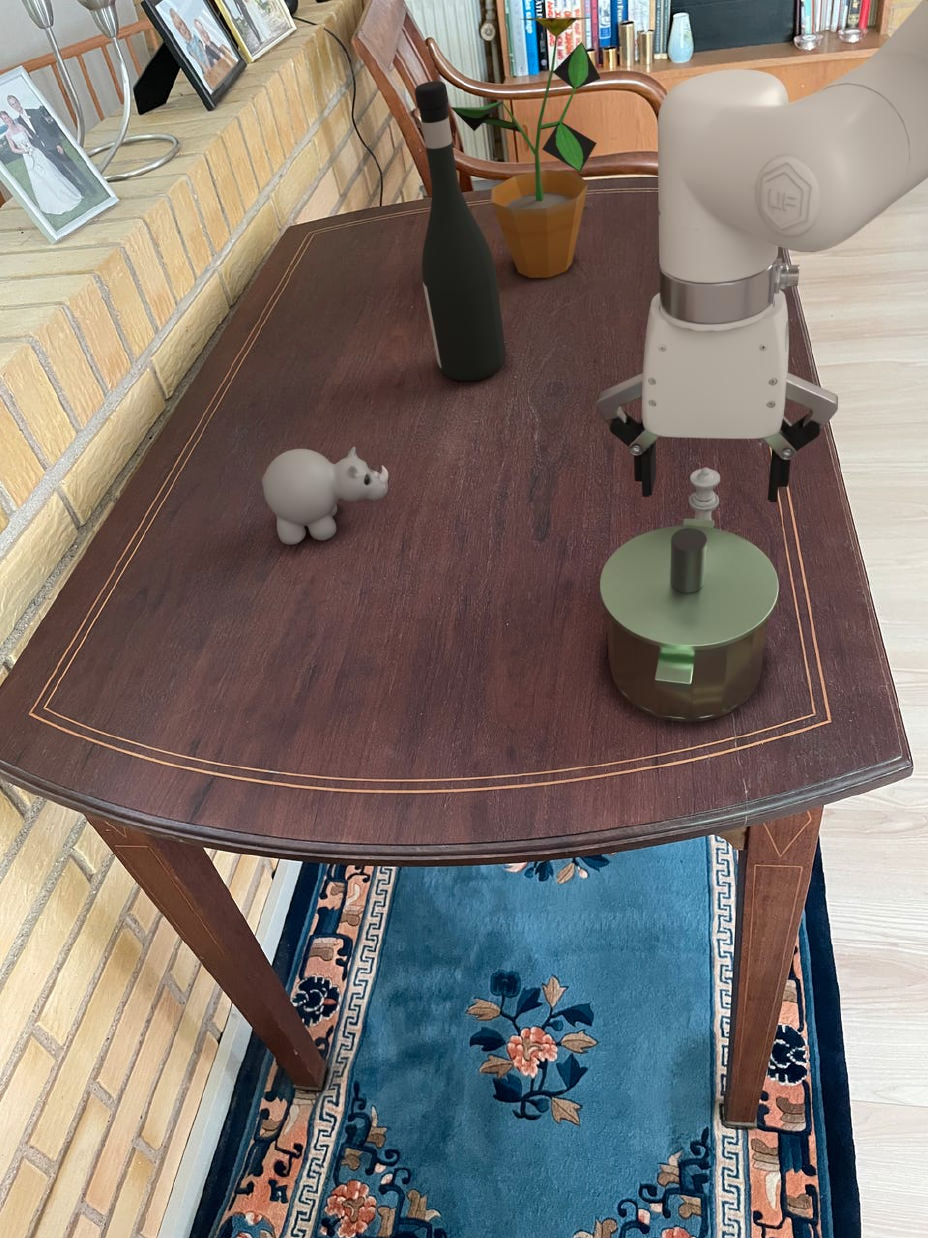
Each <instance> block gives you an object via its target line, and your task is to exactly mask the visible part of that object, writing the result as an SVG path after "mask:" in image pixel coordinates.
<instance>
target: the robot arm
mask: <svg viewBox="0 0 928 1238" xmlns="http://www.w3.org/2000/svg"><path fill="white" fill-rule="evenodd" d="M927 179H928V0H921V1H920V2H919V3H918V4H917V6H916V7H915V8H914V9H913V10H912V11H911V13H910V14H909V15H908V16H907V17H906V18H905V20H904V21H903V22H902V23H901V24H900V25H899V26H898V27H897V29H895V30H894V32H893V33H892V34H891V35H890V36H889V37H888V38H887V39H886V41H885V42H884V43H883V44H882V45H881V46H880V47H879V48H878V49H877V50H876V51H875V52H874V53H873V54H872V55H871V56H870V57H869V58H868V59H867V60H865V62H863V63H862V64H860V65H858V66H856V67H855V68H853V69H851V70H849V71H847V72H846V73H845V74H843V75H842V76H840V77H838V78H837V79H835V80H833V81H832V82H830V83H829V84H827V85H825V86H824V87H821V89H818V90H817V91H816V92H814V93H811V94H809V95H806V96H803V97H801V98H799V99H796V100H793V101H791V102H790V101H789V94H788V91H787V89H786V86H784V84H783V82H782V81H781V80H780V79H779V78H777V77H776V76H775V75H773V74H771V73H769V72H766V71H761V70H756V69H745V68H738V69H737V68H736V69H735V68H734V69H733V68H732V69H723V70H716V71H710V72H705V73H702V74H699V75H696V76H693V77H691V78H688V79H686V80H683V81H682V82H679V83H677V84H676V85H675V86H674V87H672V88H671V89H670V90H669V91H668V92H667V93H666V95H665V96H664V98H663V99H662V102H661V104H660V108H659V112H658V116H657V182H658V183H657V185H658V191H657V193H658V256H659V257H658V263H659V264H658V265H659V271H658V273H659V292H658V293H656V294H655V295H654V296H653V298H652V299H651V302H650V306H649V311H648V315H647V324H646V331H645V341H644V349H643V362H642V363H643V364H642V373H640V374H638V375H635V376H633V377H631V378H629V379H627V380H624V381H621V382H620V383H618V384H616V385H613V386H611V387H609V388H606V389H604V390H603V391H601V392H599V393H598V394H597V395H598V396H597V399H596V402H595V408H596V409H597V411H598V413H599V414H600V416H601V417H602V419H603V420H604V422H605V423H607V425H608V426H609V427H608V428H609V432H610V433H611V434H612V435H613V436H615V437H616V438H617V439H618V440H620V442H622V443H624V444H625V445H626V446H627V447H628V452H629V453H630V454H631V455H632V456H633V469H634V470H633V472H634V482H639V483H640V482H641V496H642V498H649V497H650V496H652V495H653V491H654V487H655V482H656V479H657V478H656V477H657V440H658V439H660V437H664V438H680V439H681V438H682V439H683V438H684V439H685V438H687V439H727V440H729V439H731V440H759V439H762V440H763V441H764V442H765V443H766V445H768V446H769V448H770V449H771V457H770V467H769V480H768V489H767V501H769V502H770V503H778V495H779V488H788V487H789V479H790V470H791V463H792V462H791V461H792V459H794V458H795V457H796V454H797V452H798V451H799V450H801V449H802V448H804V447H805V446H807V445H808V444H810V443H812V441H814V440H815V439H817V438H818V437H819V436H820V434H821V431H822V429H823V428H824V427H825V426H827V424H828V423H829V422H830V421H831V419H832V418H833V417H834V416H835V414H836V413H837V412H838V410H839V396H838V394H836V393H835V392H833V391H830V390H827V389H825V388H823V387H821V386H819V385H817V384H814V383H812V382H810V381H808V380H806V379H804V378H801V377H799V376H797V375H795V374H792V373H790V372H789V353H790V352H789V351H790V348H789V347H790V329H789V328H790V327H789V326H790V325H789V314H788V304H787V299H786V295H785V293H784V291H782V290H785V289H787V287H798V286H799V279H800V267H801V265H800V264H789V263H788V262H782V260H783V258H782V257H778V254H779V247H780V248H782V249H784V250H788V251H792V252H798V253H817V252H822V251H827V250H830V249H832V248H835V247H837V246H839V245H841V244H842V243H844V242H846V241H847V240H849V239H850V238H852V237H853V236H855V235H857V233H858V232H860V231H861V230H862V229H864V228H865V227H866V226H867V225H868V224H870V223H871V222H873V221H874V220H875V219H877V218H878V217H879V216H880V215H881V214H883V213H884V212H886V211H887V209H888V208H889V207H891V206H892V205H893V204H894V203H895V202H897V201H898V200H899V199H901V198H902V197H904V196H905V195H906V194H908V193H909V192H910V191H912V190H913V189H915V188H916V187H917V186H919V185H920V184H922V183H923V182H924V181H926V180H927ZM638 399H641V419H640V420H639V421H637V420H635V419H634V418H633V417H632V416H631V415H629V414H628V413H627V412H626V411H625V410H623V408H622V407H623V406H625V405H627V404H630V403H631V402H635V401H637V400H638ZM786 399H787V400H789V401H791V402H793V403H796V404H798V405H800V406H802V407H805V408H806V409H808V410H810V411H809V412H808V413H807V414H805V415H804V416H802V417H801V418H800V419H799V420H797V421H796V422H794V423H791V422H790V421H789V419H788V418H787V417H786V416H785V415H784V413H785V407H786Z"/></svg>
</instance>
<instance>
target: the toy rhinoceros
mask: <svg viewBox="0 0 928 1238" xmlns="http://www.w3.org/2000/svg"><path fill="white" fill-rule="evenodd" d="M356 450H357V447H356V446H352V447H351V449H350V450H349V451H348V455H347V456H346V457H345V458H342V459H340V460H339V461H337V462H336V463H333V462H331V461H330V460H329V459H328V458H327V457H325V456H324V455H323V454H321V453H319V452H317V451H314V450H312V449H308V448H294V449H290V450H286V451H284V452H283V453H281V454H279V455H277V457H275V458H274V459H273V460H272V461H271V462H270V463H269V465H268V467H267V469H266V471H265V472H264V474H263V476H262V478H261V485H262V489H263V496H264V500H265V502H266V503H267V505H268V508H269V509H270V510H271V511H272V512H273V514H274V516H276V532H277V535H278V538H279V540H280V541H281V542H282V543H283V544H285V545H288V546H290V545H297V544H299V543H300V542H302V541H303V539H305V537H306V533H307V532H306V527H307V528H308V532H309V534H310V536H311V537H312V538H313V539H315V540H317V541H326V540H329V539H331V538H332V537H333V536H335V534H336V533H337V524H336V521H335V519H334V516H335V515H336V514H337V511H338V506H337V504H338V501H339V500H342V501H345V502H349V503H356V502H359V501H361V500H364V499H366V500H368V501H373V502H374V501H379V500H381V499H383V498H384V497H385V496H386V494H387V493H388V490H389V484H388V479H389V472H388V470H387V469H386V467H385V466H384V465H381V473H380V472H378V471H377V470H373V469H371V468H369V467H368V464H367V462H366V461H365V460H363V459H361V458H360V457H358V455H357V451H356ZM305 526H306V527H305Z"/></svg>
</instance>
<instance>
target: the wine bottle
mask: <svg viewBox="0 0 928 1238" xmlns="http://www.w3.org/2000/svg"><path fill="white" fill-rule="evenodd" d="M414 96H415V104H416V107H417V108H418V112H419V116H420V122H421V128H422V133H423V140H424V144H425V150H426V151H425V152H426V156H427V162H428V163H427V164H428V168H429V169H428V170H429V176H430V183H431V184H430V185H431V200H430V201H431V203H430V210H429V211H430V212H429V217H428V223H427V228H426V232H425V233H426V234H425V238H424V243H423V249H422V257H421V259H422V260H421V278H422V285H423V291H424V297H425V302H426V307H427V313H428V319H429V324H430V329H431V335H432V340H433V345H434V351H435V358H436V361H437V366H438V368H439V370H440V372H441V374H443V376H445V377H446V378H448V379H450V380H452V381H456V382H466V383H467V382H469V383H471V382H476V381H477V382H478V381H481V380H485V379H487V378H489V377H492V376H493V375H495V374H496V373H497V372H499V371H500V370H501V369H502V367H503V366H504V364H505V362H506V356H507V355H506V353H507V352H506V343H505V333H504V326H503V318H502V309H501V302H500V293H499V286H498V285H499V284H498V278H497V277H498V276H497V270H496V265H495V260H494V257H493V254H492V251H491V249H490V245H489V243H488V241H487V239H486V237H485V235H484V233H483V231H482V230H481V227H480V226H479V224H478V222H477V221H476V218H475V217H474V215H473V214H472V212H471V209H470V208H469V205H468V204H467V201H466V199H465V197H464V195H463V192H462V189H461V185H460V182H459V178H458V172H457V166H456V160H455V152H454V145H453V139H452V131H451V123H450V116H449V108H448V106H449V105H448V103H449V96H448V89H447V85H446V83H445V82H443V81H440V80H431V81H427V82H423V83H421V84H418V85H417V86H416V87H415V89H414Z"/></svg>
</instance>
